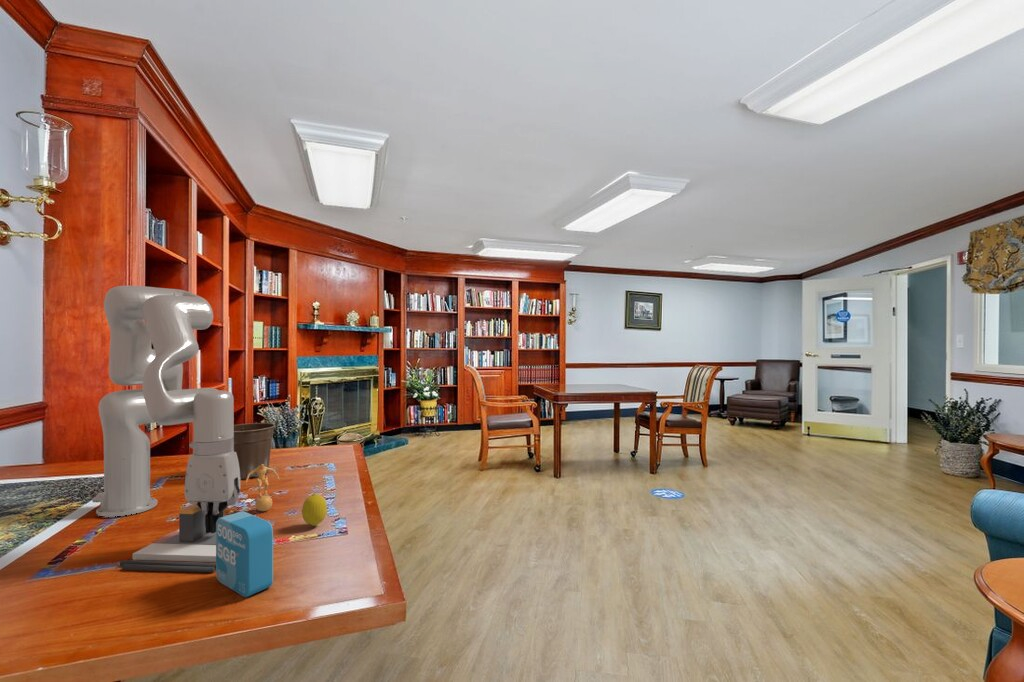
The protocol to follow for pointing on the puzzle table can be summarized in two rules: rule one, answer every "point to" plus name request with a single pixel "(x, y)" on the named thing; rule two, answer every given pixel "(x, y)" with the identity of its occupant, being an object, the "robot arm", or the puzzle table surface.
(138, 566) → the cords
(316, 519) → the lemon
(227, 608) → the puzzle table surface
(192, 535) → the toggle
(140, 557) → the panel
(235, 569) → the data package
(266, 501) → the figurine
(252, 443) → the plant pot
